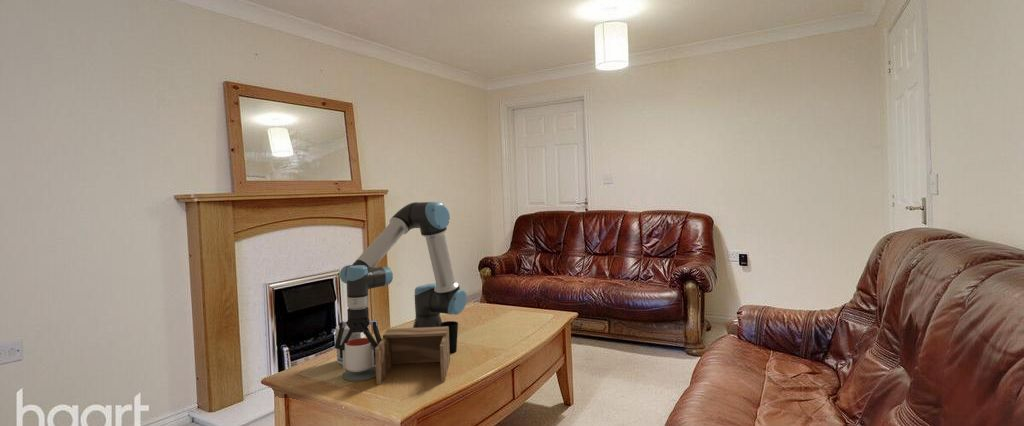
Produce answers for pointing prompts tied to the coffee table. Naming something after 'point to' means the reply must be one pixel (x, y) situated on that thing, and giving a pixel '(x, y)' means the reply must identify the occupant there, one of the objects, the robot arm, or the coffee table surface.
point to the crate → (413, 348)
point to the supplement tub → (346, 330)
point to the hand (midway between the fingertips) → (359, 366)
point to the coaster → (360, 375)
